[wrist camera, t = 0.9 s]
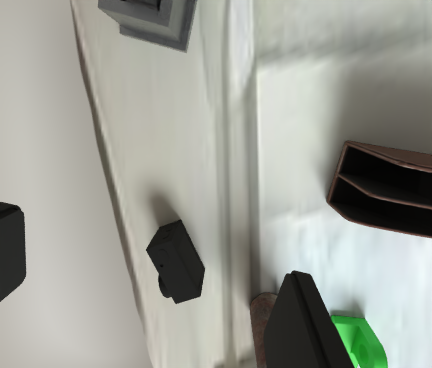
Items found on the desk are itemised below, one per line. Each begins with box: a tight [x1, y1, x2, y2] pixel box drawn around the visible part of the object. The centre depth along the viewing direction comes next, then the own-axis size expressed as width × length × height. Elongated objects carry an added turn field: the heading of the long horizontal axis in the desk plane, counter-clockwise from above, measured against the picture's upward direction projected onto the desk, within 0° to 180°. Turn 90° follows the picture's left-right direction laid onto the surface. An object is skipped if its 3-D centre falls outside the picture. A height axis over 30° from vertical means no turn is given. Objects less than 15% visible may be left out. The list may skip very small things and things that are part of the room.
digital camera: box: [146, 220, 205, 304], centre depth 40 cm, size 10×5×7 cm, turn 22°
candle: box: [250, 293, 277, 368], centre depth 36 cm, size 8×7×20 cm
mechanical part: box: [331, 315, 388, 368], centre depth 43 cm, size 12×6×8 cm, turn 176°
